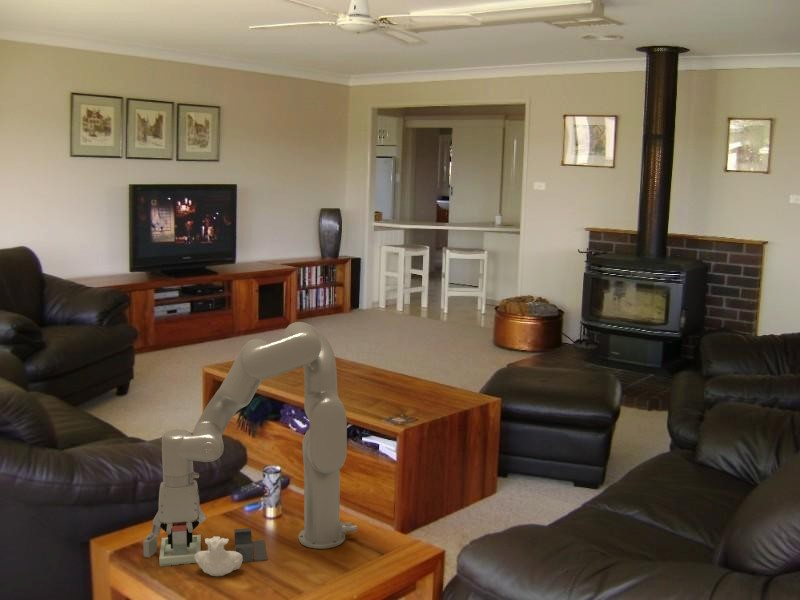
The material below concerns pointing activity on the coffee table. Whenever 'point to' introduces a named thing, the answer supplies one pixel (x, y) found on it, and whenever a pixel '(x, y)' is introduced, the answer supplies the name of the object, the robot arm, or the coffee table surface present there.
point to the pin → (179, 538)
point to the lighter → (151, 542)
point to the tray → (170, 559)
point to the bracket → (249, 546)
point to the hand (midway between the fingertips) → (180, 545)
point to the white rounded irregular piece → (218, 558)
